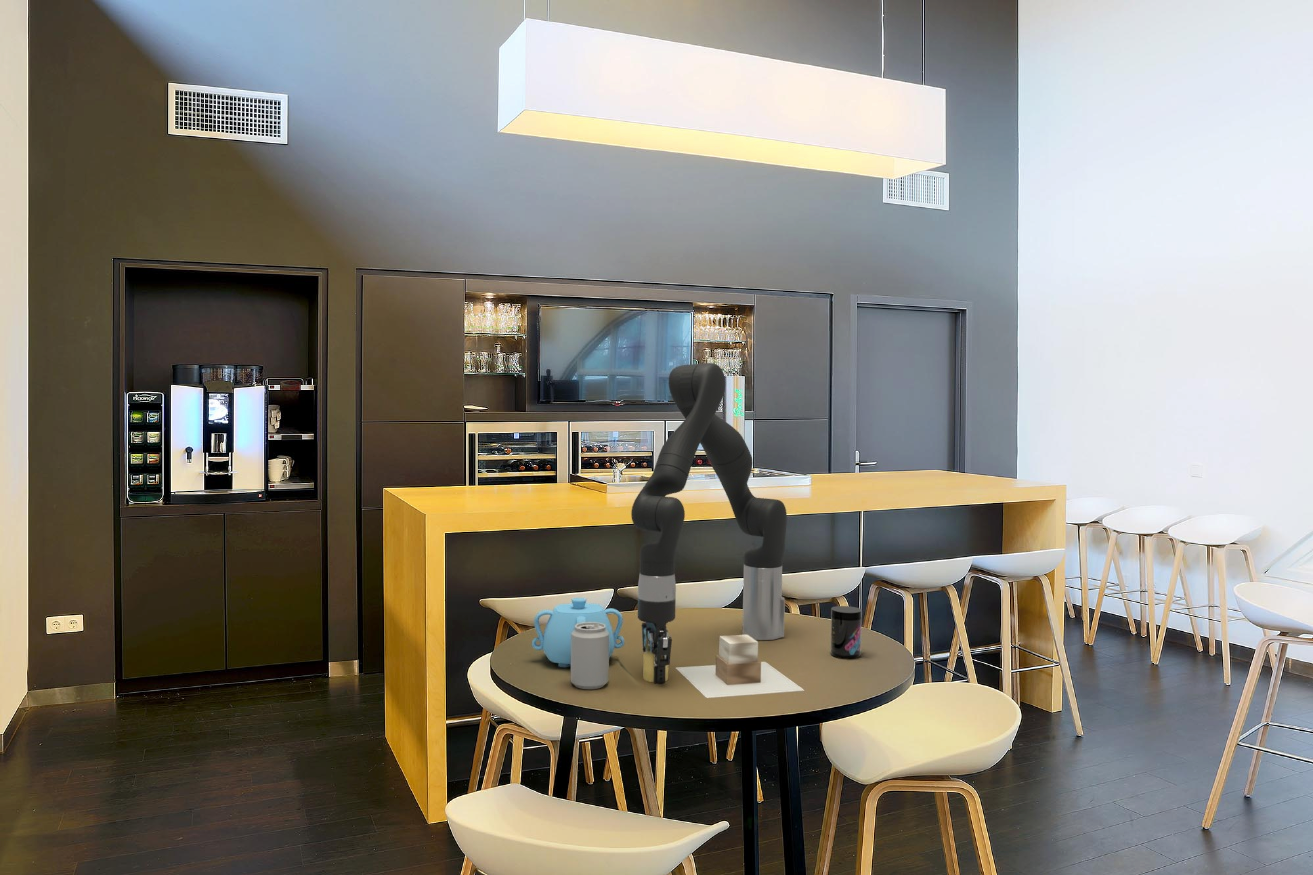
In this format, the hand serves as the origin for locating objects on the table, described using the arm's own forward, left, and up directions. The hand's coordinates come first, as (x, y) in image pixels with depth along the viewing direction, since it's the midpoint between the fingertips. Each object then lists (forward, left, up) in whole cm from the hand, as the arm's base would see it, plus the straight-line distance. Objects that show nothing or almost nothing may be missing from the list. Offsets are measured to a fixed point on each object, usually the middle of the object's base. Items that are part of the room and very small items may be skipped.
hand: (655, 679), depth 186 cm
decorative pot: (+12, -19, -1) cm, 22 cm away
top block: (-16, +4, +4) cm, 17 cm away
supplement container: (-47, -10, -1) cm, 48 cm away
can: (+13, -2, -1) cm, 13 cm away
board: (-16, +4, -1) cm, 17 cm away
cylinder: (0, 0, -1) cm, 1 cm away
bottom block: (-16, +4, 0) cm, 16 cm away
